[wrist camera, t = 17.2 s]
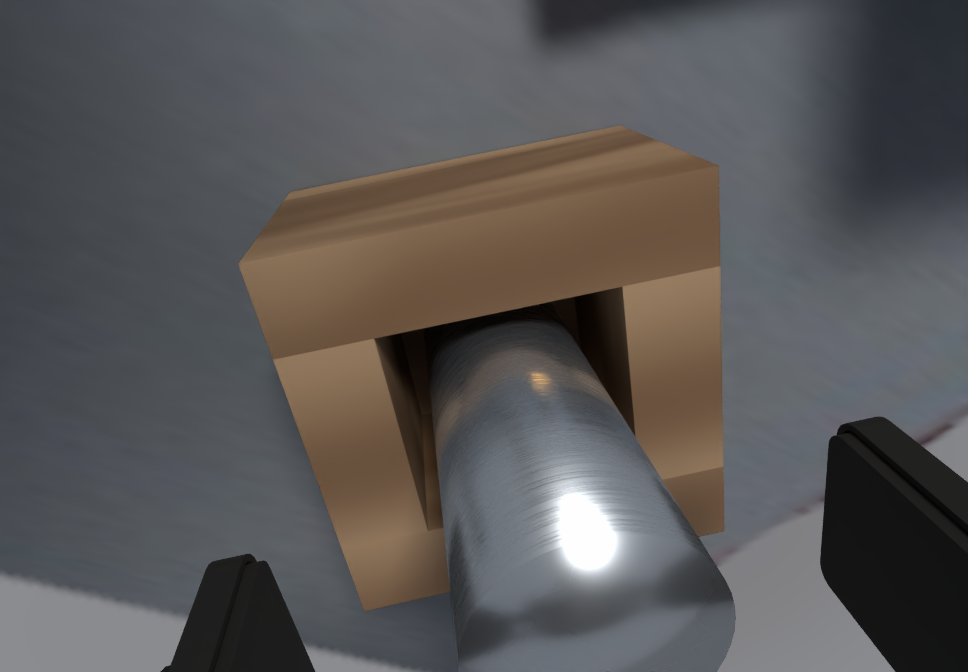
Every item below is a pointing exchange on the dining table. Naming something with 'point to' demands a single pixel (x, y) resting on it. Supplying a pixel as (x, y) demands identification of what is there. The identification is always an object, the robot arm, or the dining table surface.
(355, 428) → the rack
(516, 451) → the peg
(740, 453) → the dining table surface
